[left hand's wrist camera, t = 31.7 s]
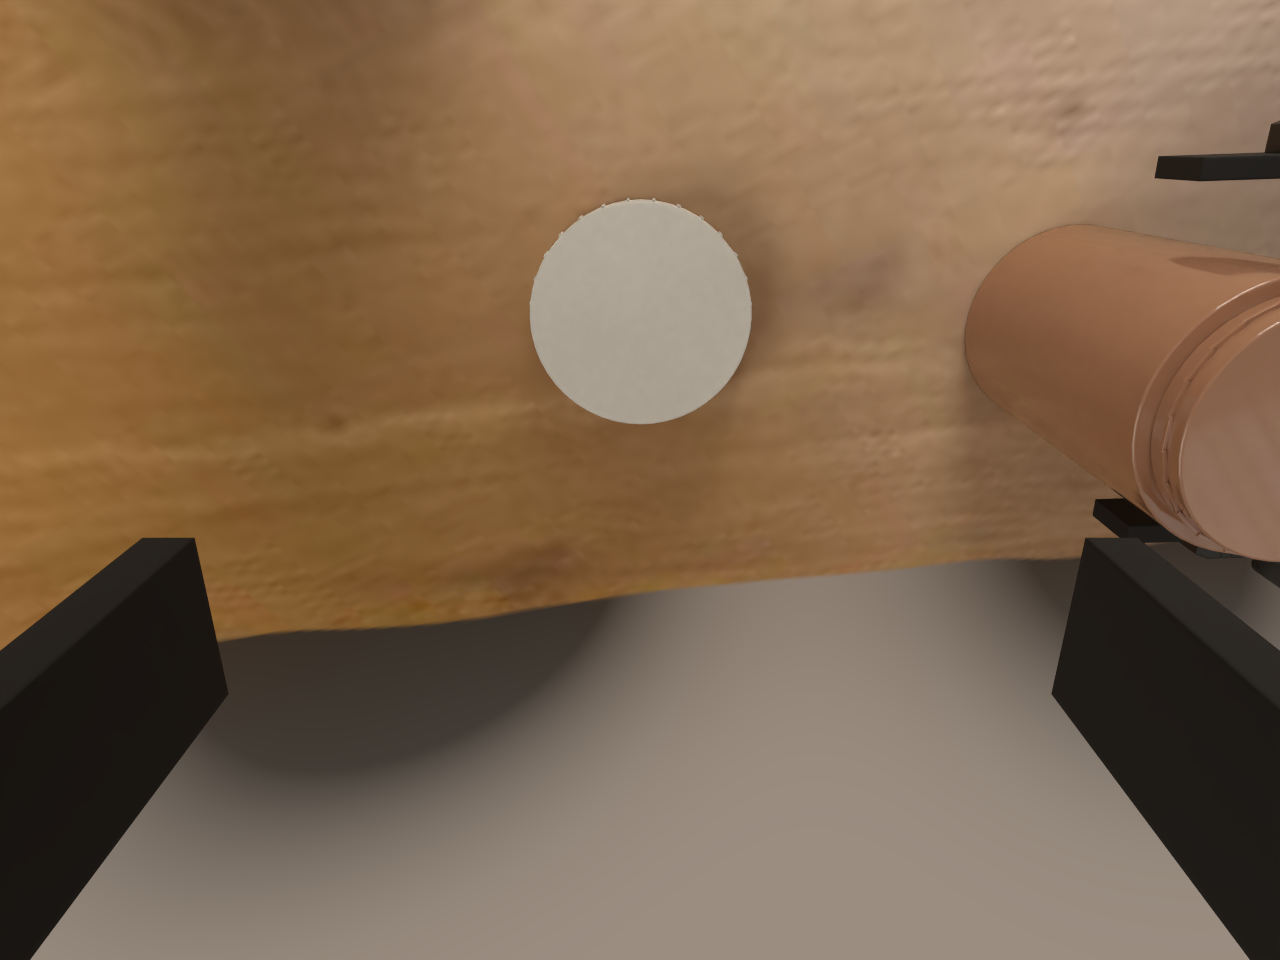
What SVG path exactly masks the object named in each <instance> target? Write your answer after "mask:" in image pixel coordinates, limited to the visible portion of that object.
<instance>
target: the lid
mask: <svg viewBox="0 0 1280 960" xmlns="http://www.w3.org/2000/svg"><path fill="white" fill-rule="evenodd" d="M558 236H559V239H558V240H557V241H556V242H555V243H554V245H553V246H552V247H551V248H550V250H549V252H548V251H547V252H546V253H545V254H544V256H543V257H545V258H544V260H543V261H542V264H541V266H540V268H539V270H538V273H537V275H536V276H535V277H534V281H535V282H534V285H533V289H532V295H531V301H530V303H529V305H530V324H531V327H530V329H531V333H532V337H533V341H534V345H535V348H536V351H537V354H538V356H539V358H540V361H541V363H542V364H543V366H544V368H545V370H546V372H547V373H548V375H549V376H550V377H551V379H552V380H553V382H554V383H555V384H556V385H557V386H558V387H559V388H560V390H561V391H562V392H563V393H564V394H565V395H566V396H568V397H569V398H570V399H571V400H573V401H574V402H575V403H576V404H578V405H579V406H581V407H583V408H584V409H586V410H587V411H589V412H592V413H594V414H596V415H598V416H600V417H603V418H606V419H609V420H612V421H617V422H622V423H629V424H652V423H659V422H664V421H669V420H672V419H675V418H678V417H681V416H684V415H686V414H688V413H690V412H692V411H694V410H696V409H697V408H699V407H701V406H702V405H704V404H705V403H707V402H708V401H709V400H710V399H712V398H713V397H714V396H715V395H716V394H717V393H718V392H719V391H720V390H721V389H722V388H723V387H724V386H725V385H726V384H727V382H728V381H729V380H730V378H731V377H732V376H733V374H734V373H735V371H736V369H737V367H738V365H739V364H740V362H741V360H742V357H743V355H744V353H745V350H746V347H747V343H748V339H749V335H750V330H751V321H752V302H751V297H750V290H749V286H748V283H747V281H748V278H747V277H746V276H745V273H744V271H743V269H742V267H741V264H740V262H739V260H738V259H737V258H738V255H737V254H736V253H735V251H734V252H733V250H732V249H731V248H730V246H729V245H728V244H727V243H726V241H725V240H724V239H723V238H722V237H723V235H722V234H721V232H720V231H719V232H717V231H716V230H715V229H714V228H713V227H711V226H710V225H709V224H708V223H707V222H705V221H704V218H703V217H702V216H701V215H700V216H699V217H698V216H697V215H695V214H693V213H692V212H690V211H688V210H686V209H684V208H681V206H680V205H679V204H677V206H676V205H673V204H670V203H666V202H661V201H656V200H655V198H652V200H643V199H639V200H630V198H627V200H626V201H621V202H616V203H612V204H609V205H606V206H605V204H602V206H601V207H600V208H598V209H596V210H594V211H592V212H590V213H588V214H586V215H585V216H582V215H581V216H580V217H579V218H578V221H576V222H575V223H573V224H572V225H571V226H570V227H569V228H568V229H567V230H566V231H565V232H563V231H562V232H561V233H560V234H559V235H558Z"/></svg>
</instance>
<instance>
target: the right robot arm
mask: <svg viewBox="0 0 1280 960" xmlns="http://www.w3.org/2000/svg"><path fill="white" fill-rule="evenodd" d="M1155 178H1160V179H1175V180H1190V181H1221V180H1250V179H1280V121H1278V122H1275V123H1273V124H1271V127H1270V132H1269V136H1268V140H1267V145H1266V149H1265V153H1240V154H1211V155H1181V156H1159V157H1158V162H1157V168H1156V173H1155ZM1093 516H1094V517H1095V518H1096V519H1098V520H1099V521H1100V522H1101V523H1102V524H1104V525H1105V526H1106V527H1107V528H1109V529H1110V530H1111V531H1112V532H1113V533H1115V534H1116V535H1117V536H1118V537H1119V538H1138V539H1140V540H1141V541H1142V542H1143V543H1152V542H1180V543H1181V544H1183V545H1184V546H1185V547H1187V548H1188V549H1189V550H1191V551H1192V552H1193V553H1195V554H1196V555H1199V556H1202V557H1204V558H1207V559H1213V558H1231V557H1232V558H1247V557H1244V556H1240V555H1235V554H1230V553H1223V552H1217V551H1211V550H1208V549H1204V548H1201V547H1198V546H1195V545H1193V544H1190V543H1188V542H1186V541H1184V540H1182V539H1180V538H1179V537H1177V536H1176V535H1174V534H1173V533H1171V532H1170V531H1168V530H1167V529H1165V528H1164V527H1163V526H1161V525H1160V524H1158V523H1157V522H1156V521H1154V520H1153V519H1152V518H1150V517H1149V516H1148V515H1146V514H1145V513H1143V512H1142V511H1141V510H1139V509H1138V508H1137V507H1135V506H1134V505H1133V504H1131V503H1130V502H1128V501H1127V500H1126V499H1124V498H1122V499H1095V505H1094V510H1093ZM1252 568H1253V569H1254V570H1255V571H1256V572H1258V573H1259V574H1261V575H1262V576H1263V577H1265V578H1266V579H1268V580H1269V581H1271V582H1272V583H1273V584H1275V585H1276V586H1278V587H1279V588H1280V562H1269V561H1262V560H1256V559H1252Z"/></svg>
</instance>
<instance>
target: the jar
mask: <svg viewBox="0 0 1280 960" xmlns="http://www.w3.org/2000/svg"><path fill="white" fill-rule="evenodd" d="M965 347H966V356H967V360H968V365H969V367H970V370H971V373H972V375H973V377H974V379H975V381H976V382H977V384H978V386H979V387H980V389H981V390H982V391H983V392H984V394H985V395H986V396H987V397H988V398H989V399H991V400H992V401H993V402H994V403H995V404H997V405H998V406H999V407H1001V408H1002V409H1003V410H1005V411H1006V412H1007V413H1009V414H1010V415H1011V416H1013V417H1014V418H1016V419H1017V420H1018V421H1020V422H1021V423H1022V424H1024V425H1025V426H1026V427H1028V428H1029V429H1031V430H1032V431H1033V432H1035V433H1036V434H1037V435H1039V436H1040V437H1041V438H1043V439H1044V440H1045V441H1047V442H1048V443H1050V444H1051V445H1052V446H1054V447H1055V448H1056V449H1058V450H1059V451H1060V452H1062V453H1063V454H1065V455H1066V456H1067V457H1069V458H1070V459H1071V460H1073V461H1074V462H1075V463H1077V464H1078V465H1080V466H1081V467H1082V468H1084V469H1085V470H1086V471H1088V472H1089V473H1090V474H1092V475H1093V476H1094V477H1096V478H1097V479H1099V480H1100V481H1101V482H1103V483H1104V484H1105V485H1107V486H1108V487H1109V488H1111V489H1112V490H1114V491H1115V492H1116V493H1118V494H1119V495H1120V496H1122V497H1123V498H1124V499H1126V500H1127V501H1128V502H1130V503H1131V504H1133V505H1134V506H1135V507H1137V508H1138V509H1139V510H1141V511H1142V512H1143V513H1145V514H1146V515H1148V516H1149V517H1150V518H1152V519H1153V520H1154V521H1156V522H1157V523H1158V524H1160V525H1161V526H1163V527H1164V528H1165V529H1167V530H1168V531H1170V532H1171V533H1173V534H1174V535H1176V536H1177V537H1179V538H1180V539H1182V540H1184V541H1186V542H1188V543H1190V544H1193V545H1195V546H1198V547H1201V548H1204V549H1208V550H1211V551H1217V552H1223V553H1230V554H1235V555H1240V556H1244V557H1247V558H1250V559H1256V560H1262V561H1269V562H1280V259H1278V258H1272V257H1267V256H1261V255H1256V254H1250V253H1245V252H1239V251H1234V250H1228V249H1223V248H1217V247H1212V246H1206V245H1201V244H1195V243H1190V242H1184V241H1179V240H1173V239H1168V238H1162V237H1157V236H1151V235H1146V234H1140V233H1135V232H1129V231H1124V230H1118V229H1113V228H1107V227H1102V226H1096V225H1081V224H1080V225H1069V226H1063V227H1059V228H1055V229H1051V230H1049V231H1046V232H1043V233H1040V234H1038V235H1036V236H1034V237H1032V238H1030V239H1028V240H1026V241H1025V242H1023V243H1022V244H1020V245H1019V246H1017V247H1016V248H1014V249H1013V250H1012V251H1011V252H1009V253H1008V254H1007V255H1006V256H1005V257H1003V258H1002V259H1001V261H1000V262H999V263H998V264H997V265H996V266H995V267H994V268H993V269H992V270H991V272H990V273H989V274H988V276H987V277H986V278H985V280H984V281H983V283H982V285H981V286H980V288H979V290H978V291H977V294H976V296H975V298H974V300H973V302H972V305H971V308H970V312H969V315H968V319H967V324H966V332H965Z"/></svg>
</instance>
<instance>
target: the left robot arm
mask: <svg viewBox="0 0 1280 960" xmlns="http://www.w3.org/2000/svg"><path fill="white" fill-rule="evenodd" d="M227 695H228V690H227V685H226V680H225V676H224V671H223V666H222V662H221V657H220V653H219V648H218V644H217V639H216V634H215V630H214V625H213V621H212V616H211V611H210V607H209V602H208V598H207V593H206V589H205V584H204V579H203V575H202V570H201V566H200V561H199V556H198V552H197V547H196V543H195V538H142V539H140V540H139V541H138V542H137V543H135V544H134V545H133V546H132V547H130V548H129V549H128V550H127V551H125V552H124V553H123V554H122V555H120V556H119V557H118V558H116V559H115V560H114V561H113V562H111V563H110V564H109V565H108V566H106V567H105V568H104V569H103V570H101V571H100V572H99V573H98V574H96V575H95V576H94V577H93V578H91V579H90V580H89V581H88V582H86V583H85V584H84V585H82V586H81V587H80V588H79V589H77V590H76V591H75V592H74V593H72V594H71V595H70V596H69V597H67V598H66V599H65V600H64V601H62V602H61V603H60V604H59V605H57V606H56V607H55V608H54V609H52V610H51V611H50V612H48V613H47V614H46V615H45V616H43V617H42V618H41V619H40V620H38V621H37V622H36V623H35V624H33V625H32V626H31V627H30V628H28V629H27V630H26V631H25V632H23V633H22V634H21V635H20V636H18V637H17V638H16V639H14V640H13V641H12V642H11V643H9V644H8V645H7V646H6V647H4V648H3V649H2V650H1V651H0V960H30V959H31V958H32V956H33V955H34V954H35V952H36V951H37V950H38V948H39V947H40V946H41V944H42V943H43V942H44V940H45V939H46V938H47V936H48V935H49V934H50V932H51V931H52V930H53V928H54V927H55V926H56V924H57V923H58V922H59V920H60V919H61V918H62V916H63V915H64V914H65V912H66V911H67V909H68V908H69V907H70V906H71V904H72V903H73V901H74V900H75V899H76V898H77V896H78V895H79V893H80V892H81V891H82V889H83V888H84V887H85V885H86V884H87V883H88V881H89V880H90V879H91V877H92V876H93V875H94V873H95V872H96V871H97V869H98V868H99V867H100V865H101V864H102V863H103V861H104V860H105V859H106V857H107V856H108V855H109V853H110V852H111V851H112V849H113V848H114V847H115V845H116V844H117V843H118V841H119V840H120V839H121V837H122V836H123V834H124V833H125V832H126V831H127V829H128V828H129V827H130V825H131V824H132V823H133V821H134V820H135V818H136V817H137V816H138V814H139V813H140V812H141V810H142V809H143V808H144V806H145V805H146V804H147V802H148V801H149V800H150V798H151V797H152V796H153V794H154V793H155V792H156V790H157V789H158V788H159V786H160V785H161V784H162V782H163V781H164V780H165V778H166V777H167V776H168V774H169V773H170V772H171V770H172V769H173V768H174V766H175V765H176V764H177V762H178V761H179V760H180V758H181V757H182V756H183V754H184V753H185V751H186V750H187V749H188V748H189V746H190V745H191V743H192V742H193V741H194V739H195V738H196V737H197V735H198V734H199V733H200V731H201V730H202V729H203V727H204V726H205V725H206V723H207V722H208V721H209V719H210V718H211V717H212V715H213V714H214V713H215V711H216V710H217V709H218V707H219V706H220V705H221V703H222V702H223V701H224V699H225V698H226V697H227ZM1052 695H1053V697H1054V698H1055V699H1056V701H1057V702H1058V703H1059V705H1060V706H1061V707H1062V709H1063V710H1064V711H1065V713H1066V714H1067V715H1068V717H1069V718H1070V719H1071V721H1072V722H1073V723H1074V725H1075V726H1076V727H1077V729H1078V730H1079V731H1080V733H1081V734H1082V735H1083V737H1084V738H1085V739H1086V741H1087V742H1088V743H1089V745H1090V746H1091V747H1092V749H1093V750H1094V752H1095V753H1096V754H1097V756H1098V757H1099V758H1100V759H1101V761H1102V762H1103V764H1104V765H1105V766H1106V768H1107V769H1108V770H1109V772H1110V773H1111V774H1112V776H1113V777H1114V778H1115V780H1116V781H1117V782H1118V784H1119V785H1120V786H1121V788H1122V789H1123V790H1124V792H1125V793H1126V794H1127V796H1128V797H1129V798H1130V800H1131V801H1132V802H1133V804H1134V805H1135V806H1136V808H1137V809H1138V810H1139V812H1140V813H1141V814H1142V816H1143V817H1144V818H1145V820H1146V821H1147V823H1148V824H1149V825H1150V827H1151V828H1152V829H1153V831H1154V832H1155V833H1156V834H1157V836H1158V837H1159V839H1160V840H1161V841H1162V843H1163V844H1164V845H1165V847H1166V848H1167V849H1168V851H1169V852H1170V853H1171V855H1172V856H1173V857H1174V859H1175V860H1176V861H1177V863H1178V864H1179V865H1180V867H1181V868H1182V869H1183V871H1184V872H1185V873H1186V875H1187V876H1188V877H1189V879H1190V880H1191V881H1192V883H1193V884H1194V885H1195V887H1196V888H1197V889H1198V891H1199V892H1200V893H1201V895H1202V896H1203V897H1204V899H1205V900H1206V902H1207V903H1208V904H1209V906H1210V907H1211V908H1212V910H1213V911H1214V912H1215V914H1216V915H1217V916H1218V918H1219V919H1220V920H1221V922H1222V923H1223V924H1224V926H1225V927H1226V928H1227V930H1228V931H1229V932H1230V934H1231V935H1232V936H1233V938H1234V939H1235V940H1236V942H1237V943H1238V944H1239V946H1240V947H1241V948H1242V950H1243V951H1244V952H1245V954H1246V955H1247V956H1248V958H1249V959H1250V960H1280V651H1279V650H1278V649H1277V648H1276V647H1274V646H1273V645H1272V644H1271V643H1269V642H1268V641H1267V640H1266V639H1264V638H1263V637H1262V636H1260V635H1259V634H1258V633H1257V632H1255V631H1254V630H1253V629H1252V628H1250V627H1249V626H1248V625H1247V624H1245V623H1244V622H1243V621H1242V620H1240V619H1239V618H1238V617H1237V616H1235V615H1234V614H1233V613H1231V612H1230V611H1229V610H1228V609H1226V608H1225V607H1224V606H1223V605H1221V604H1220V603H1219V602H1218V601H1216V600H1215V599H1214V598H1213V597H1211V596H1210V595H1209V594H1208V593H1206V592H1205V591H1204V590H1203V589H1201V588H1200V587H1199V586H1198V585H1196V584H1195V583H1194V582H1192V581H1191V580H1190V579H1189V578H1187V577H1186V576H1185V575H1184V574H1182V573H1181V572H1180V571H1179V570H1177V569H1176V568H1175V567H1174V566H1172V565H1171V564H1170V563H1169V562H1167V561H1166V560H1165V559H1164V558H1162V557H1161V556H1160V555H1158V554H1157V553H1156V552H1155V551H1153V550H1152V549H1151V548H1150V547H1148V546H1147V545H1146V544H1145V543H1143V542H1142V541H1141V540H1140V539H1138V538H1085V543H1084V547H1083V552H1082V556H1081V561H1080V566H1079V570H1078V575H1077V579H1076V584H1075V589H1074V593H1073V598H1072V602H1071V607H1070V612H1069V616H1068V621H1067V625H1066V630H1065V635H1064V639H1063V644H1062V648H1061V653H1060V657H1059V662H1058V666H1057V671H1056V676H1055V680H1054V685H1053V689H1052Z"/></svg>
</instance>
